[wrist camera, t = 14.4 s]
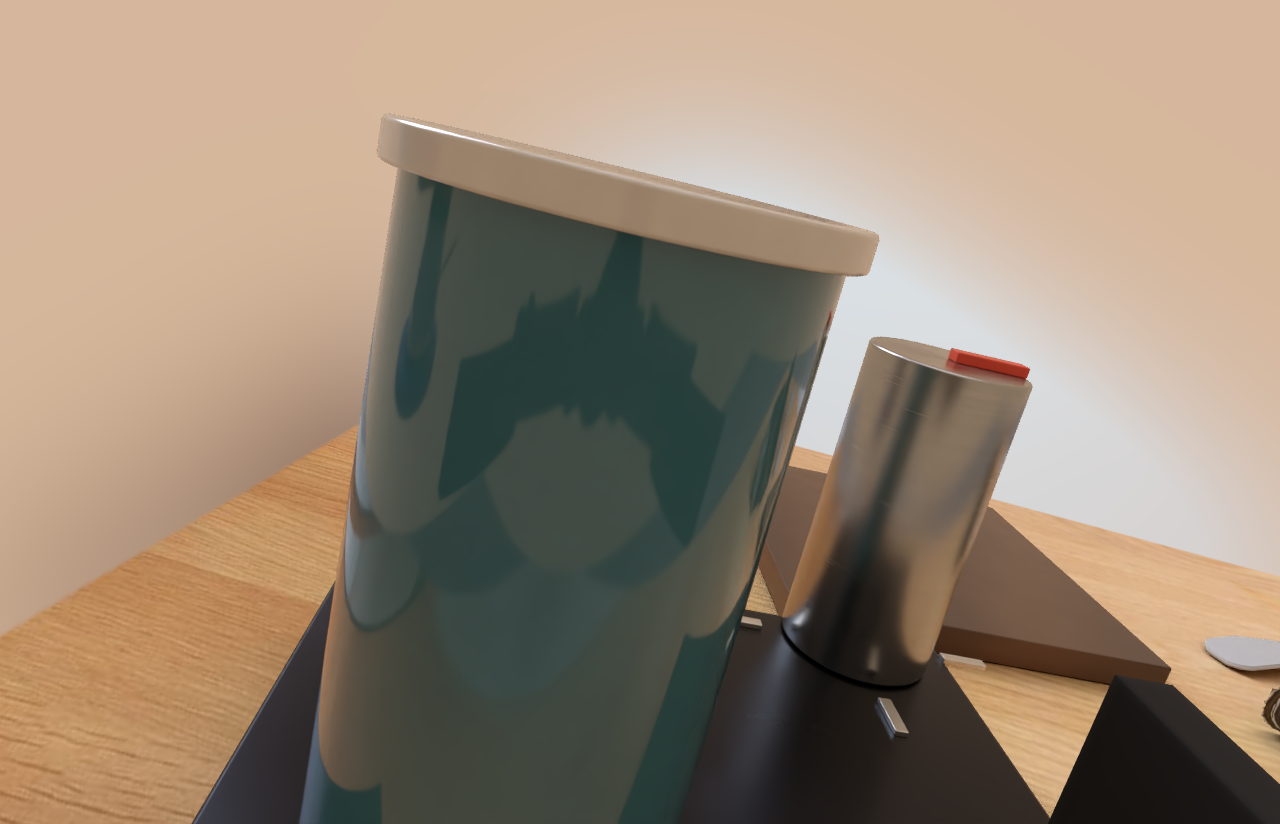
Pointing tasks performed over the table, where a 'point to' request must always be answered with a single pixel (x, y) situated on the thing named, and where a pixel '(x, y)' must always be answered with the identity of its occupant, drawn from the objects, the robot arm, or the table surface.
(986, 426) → the knob
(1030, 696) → the table surface
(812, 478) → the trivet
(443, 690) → the pot
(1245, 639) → the fork
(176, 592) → the table surface
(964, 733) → the hob
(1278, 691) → the chocolate cake
